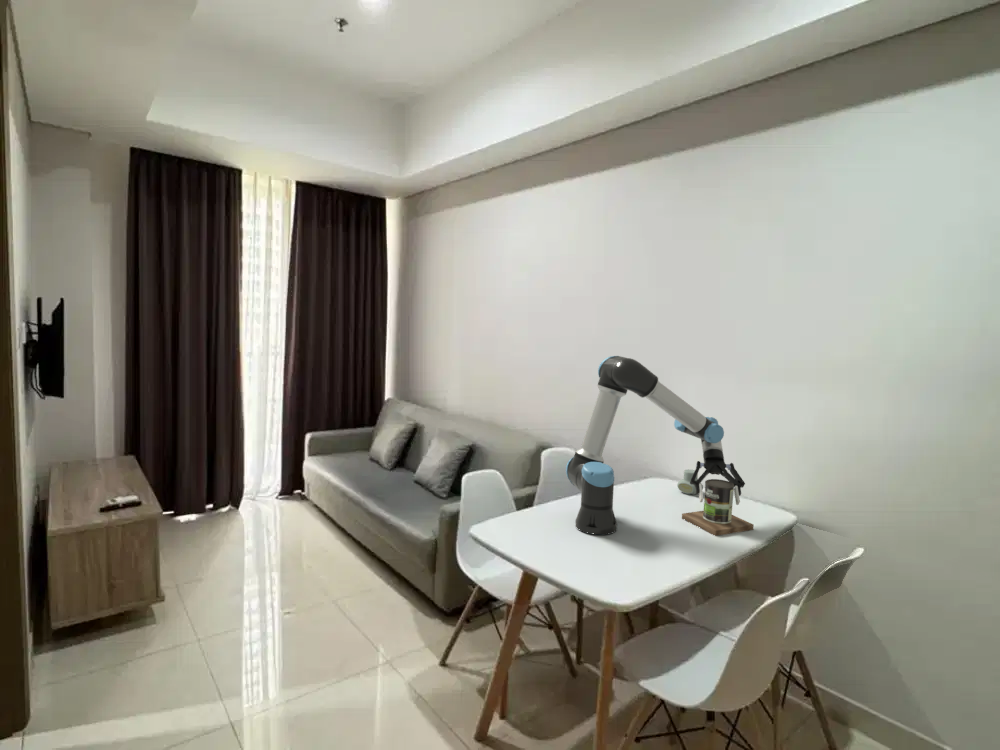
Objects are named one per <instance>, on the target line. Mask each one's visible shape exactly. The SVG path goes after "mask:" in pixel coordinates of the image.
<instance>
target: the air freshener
mask: <svg viewBox="0 0 1000 750" xmlns="http://www.w3.org/2000/svg"><path fill="white" fill-rule="evenodd" d="M695 470H696V469H685V470H684V471H683V478H681V479H680V480H678V481H677V489H678V490H679V491H680V492H682V493H683V494H685V495H689V494H692V495H697V494H698V495H699V493H696V488H695V485H693V484H692V485H691V484H690V481H691V479H692V476H693V474H694V472H695ZM698 475H699V473H698V474H697V476H696V478H695V481H697V480H698V478H699V477H698ZM700 484H702V482H701V483H700ZM703 489H704V486H703V484H702V491H703Z"/></svg>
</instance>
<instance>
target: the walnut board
mask: <svg viewBox="0 0 1000 750" xmlns="http://www.w3.org/2000/svg"><path fill="white" fill-rule="evenodd" d="M703 512H704V510H699V511H692V512H684V513H681V519H682V520H684V519H685V520H684V521H686V520H687V521H686V522H688V523H689V522H690V524H691V523H692V525H693V524H694V526H695V525H696V527H697V526H698V528H699V527H700V528H699V529H701V528H702V529H701V530H704V531H705V532H707V533H709V534H711V535H712V534H713V535H712V536H714V535H715V537H717V536H723V535H730V534H736V533H741V532H746V531H747V532H748V531H753V530H754V524H753V523H751V522H749V521H746V520H745V519H742V518H741V517H738V516H736V515H734V514H732V517H731V522H730V523H728V524H717V523H712V522H709V521H707V520H705V519H704V518H703Z"/></svg>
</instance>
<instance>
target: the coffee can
mask: <svg viewBox="0 0 1000 750" xmlns="http://www.w3.org/2000/svg"><path fill="white" fill-rule="evenodd" d="M704 484H705V485H704V496H703V501H704V502H703V511H704V512H703V518H704V519H705V520H707V521H709V522H712V523H717V524H728V523H730V522H731V517H732V515H733V504H734V503H733V502H734V501H733V500H734V488H735V487H734V484H733V483H731V482H729V481H728V480H725V479H717V478H712V479H711V478H710V479H706V480H705V481H704Z"/></svg>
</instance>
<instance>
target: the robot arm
mask: <svg viewBox="0 0 1000 750" xmlns="http://www.w3.org/2000/svg"><path fill="white" fill-rule="evenodd" d="M597 373H598V374H597V375H598V378H599V379H598V381H597V385H596V386H597V387H598V389H599V392H598V396H597V398H596V401H595V405H594V407H593V410H592V413H591V416H590V418H589V423H588V426H587V429H586V431H585V434H584V438H583V441H582V444H581V446H580V448H578V449H577V450H575V452H574V454H573V456H572V457H571V458H570V459H569V460H568V461H567V464H566V465H565V474H566V478H567V479H568V480H569V482H570V483H571V484H572V485H573V487H575V488H577V489H578V490H579V491H581V493H580V496H581V497H580V506H579V507H580V508H579V510H578V513H577V516H576V518H575V528H576V527H577V528H578V529H580V530H582V531H584V532H588V533H594V534H607V535H609V534H608V533H611V534H613V533H612V532H614V531H615V532H616V531H617V530H616V529H618V523H617V519H616V516H615V511H614V509H613V507H614V506H613V505H614V503H613V502H614V488H615V473H614V472H615V471H614V469H613V467H611V466H610V465H609V464H607V463H605V459H604V458H603V453H604V450H605V448H606V444H607V440H608V438H609V434H610V432H611V428H612V425H613V422H614V419H615V416H616V414H617V410H618V407H619V404H620V402H621V399H622V398H623V397H624V396H626V395H627V392H628V391H630V392H633V393H634V394H636V395H637V396H638V397H640V398H646V399H648V400H649V401H650V402H651V403H652V404H654V405H655V406H657V407H658V408H660V409H661V410H662V411H664V412H665V413H667V414H668V415H669V416H671V417H672V418H674V423H673V426H674V428H675V429H676V430H677V431H679V432H681V433H685V434H687V435H690V436H692V437H695V438H698V439H700V441H701V442H700V443H701V447H702V453H703V455H702V456H703V462H701V461H700V460H697V461H696V463H695V464H696V465H695V469H694V470H695V472H694V474H693V476H692V479H691V481H690V484H691V485H692V484H693V485H695V488H696V493H698V497H699V498H698V499H699V503H702V502H703V501H704V496H703V493H704V492H703V490H702V485H703V483H702V482H703V481H704V479H705V478H706V477H707V476H709V474H710V475H716V476H717V475H718V476H719V475H721V476H722V478H723V477H724V479H726V481H728V482H731V483H733V484H734V491H733V495H734V498H735V505H737V506H738V505H740V503H741V499H740V496H741V495H742V490H741V488H744V487H745V485H746V483H745V481H744V480H743V478H742V477H741V476H740V474H739V472H738V471H737V470H736V467H735V464H734V462H733V463H732V462H731V463H727V464H726V462H725V457H724V451H723V444H722V440H723V438H724V436H725V435H724V434H725V431H724V428H723V426H721V425H720V424H719V421H718V419H717V418H715V417H713V416H712V417H709V416H705V415H704V414H702V413H701V412H699V411H698V410H697V409H696V408H694V407H693V406H691V405H690V404H689V403H688V402H686V401H685V400H684V399H682V398H681V397H680V396H679V395H677V394H676V393H675V392H674V391H672V390H671V389H669V388H668V387H667V386H665V384H663V383H661V382H660V381H659V377H658V376H657V375H656V374H654V373H653V372H652V371H651V370H649V369H648V368H647V367H646V366H644V365H643V364H642V363H640V362H639V361H637V360H636V359H634V358H631V357H630V358H628V357H624V356H621V355H620V356H619V355H612V356H611V355H610V356H608V357H606V358H604V359H603V360H602V361H601V362H600V363H599V366H598V368H597ZM702 467H703V468H704V469H705V470H704V471H703V472H702V474H701V475H700V476H699V477H698V479H697V481H695V478H696V476H697V474H698V475H699V471H700V469H702ZM729 472H730V473H729ZM700 483H701V484H700ZM577 528H576V529H577ZM578 529H577V530H578ZM580 530H579V531H580ZM582 531H581V532H582ZM584 532H583V533H584ZM615 532H614V533H615ZM588 533H587V534H588Z"/></svg>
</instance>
